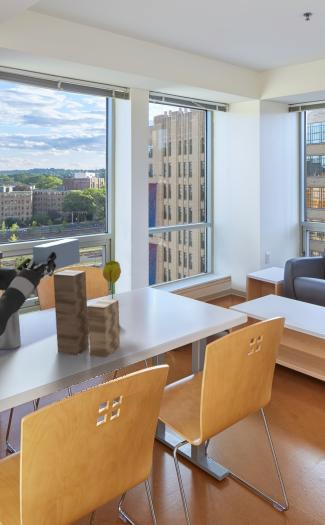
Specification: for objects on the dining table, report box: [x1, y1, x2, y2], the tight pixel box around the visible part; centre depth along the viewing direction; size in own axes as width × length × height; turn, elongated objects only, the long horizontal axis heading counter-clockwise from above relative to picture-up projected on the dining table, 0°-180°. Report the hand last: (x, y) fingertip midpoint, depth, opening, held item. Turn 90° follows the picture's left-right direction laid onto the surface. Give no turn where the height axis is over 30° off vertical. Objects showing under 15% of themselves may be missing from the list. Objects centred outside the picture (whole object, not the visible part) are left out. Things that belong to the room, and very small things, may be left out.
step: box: [87, 298, 121, 358], centre depth 187 cm, size 12×7×20 cm, turn 158°
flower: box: [102, 260, 122, 300], centre depth 223 cm, size 9×8×30 cm
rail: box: [32, 238, 81, 271], centre depth 173 cm, size 22×5×9 cm, turn 158°
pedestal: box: [52, 269, 90, 356], centre depth 188 cm, size 9×9×32 cm
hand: (48, 253), depth 168 cm, fingers closed on rail, 5 cm apart
